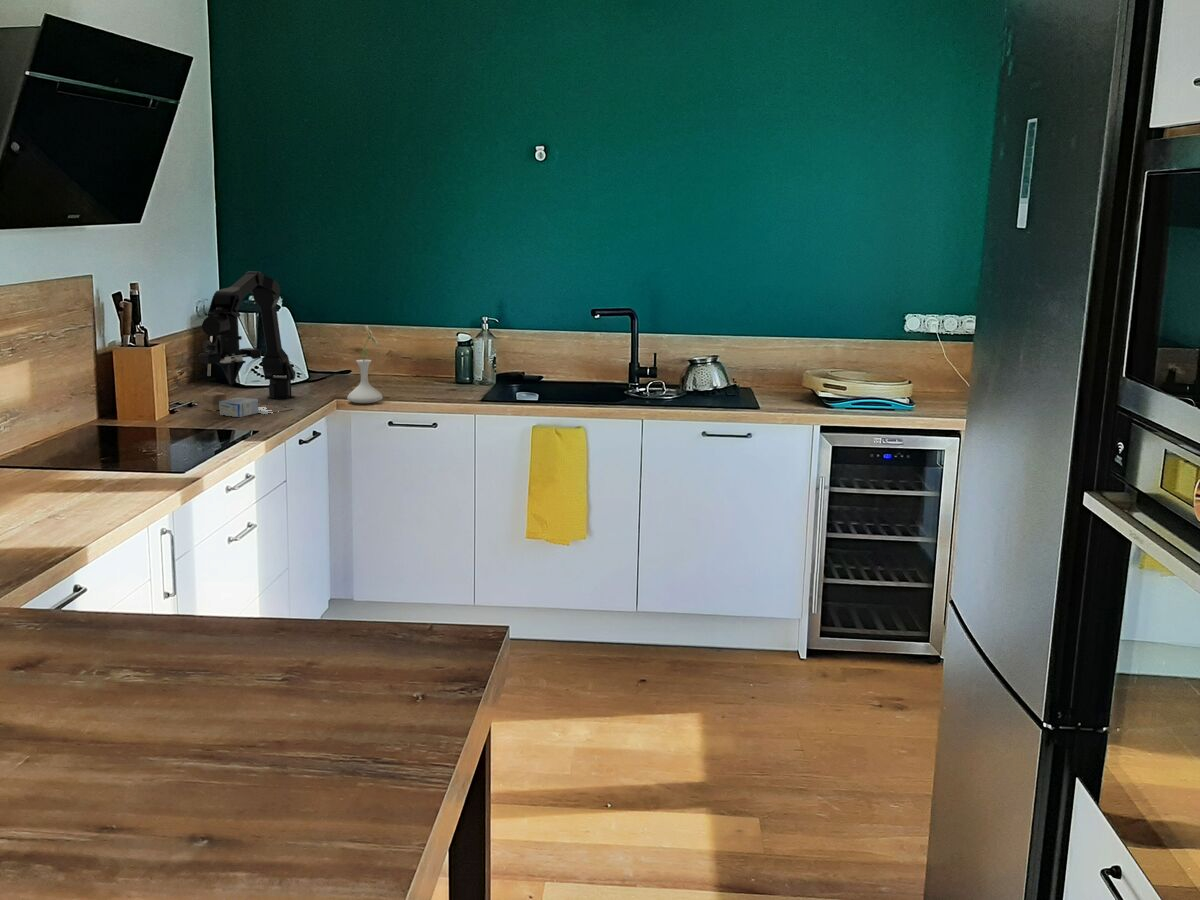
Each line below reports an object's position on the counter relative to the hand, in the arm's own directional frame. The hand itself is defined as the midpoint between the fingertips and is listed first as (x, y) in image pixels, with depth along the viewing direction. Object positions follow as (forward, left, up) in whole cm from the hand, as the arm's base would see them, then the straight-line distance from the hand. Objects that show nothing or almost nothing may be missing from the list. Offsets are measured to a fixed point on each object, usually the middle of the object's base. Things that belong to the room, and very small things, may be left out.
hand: (231, 384), depth 355 cm
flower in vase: (-41, +14, -10) cm, 44 cm away
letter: (-12, 0, -10) cm, 15 cm away
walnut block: (-2, -12, -10) cm, 16 cm away
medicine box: (-6, 0, -7) cm, 9 cm away
